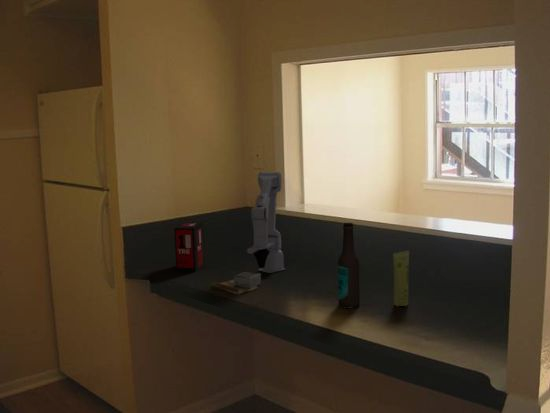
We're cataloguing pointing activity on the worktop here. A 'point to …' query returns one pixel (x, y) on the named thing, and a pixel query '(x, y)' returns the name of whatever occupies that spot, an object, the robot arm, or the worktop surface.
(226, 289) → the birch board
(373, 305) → the worktop surface
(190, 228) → the cleaning product box
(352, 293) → the beer bottle
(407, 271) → the tube
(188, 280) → the worktop surface
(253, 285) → the medicine box
